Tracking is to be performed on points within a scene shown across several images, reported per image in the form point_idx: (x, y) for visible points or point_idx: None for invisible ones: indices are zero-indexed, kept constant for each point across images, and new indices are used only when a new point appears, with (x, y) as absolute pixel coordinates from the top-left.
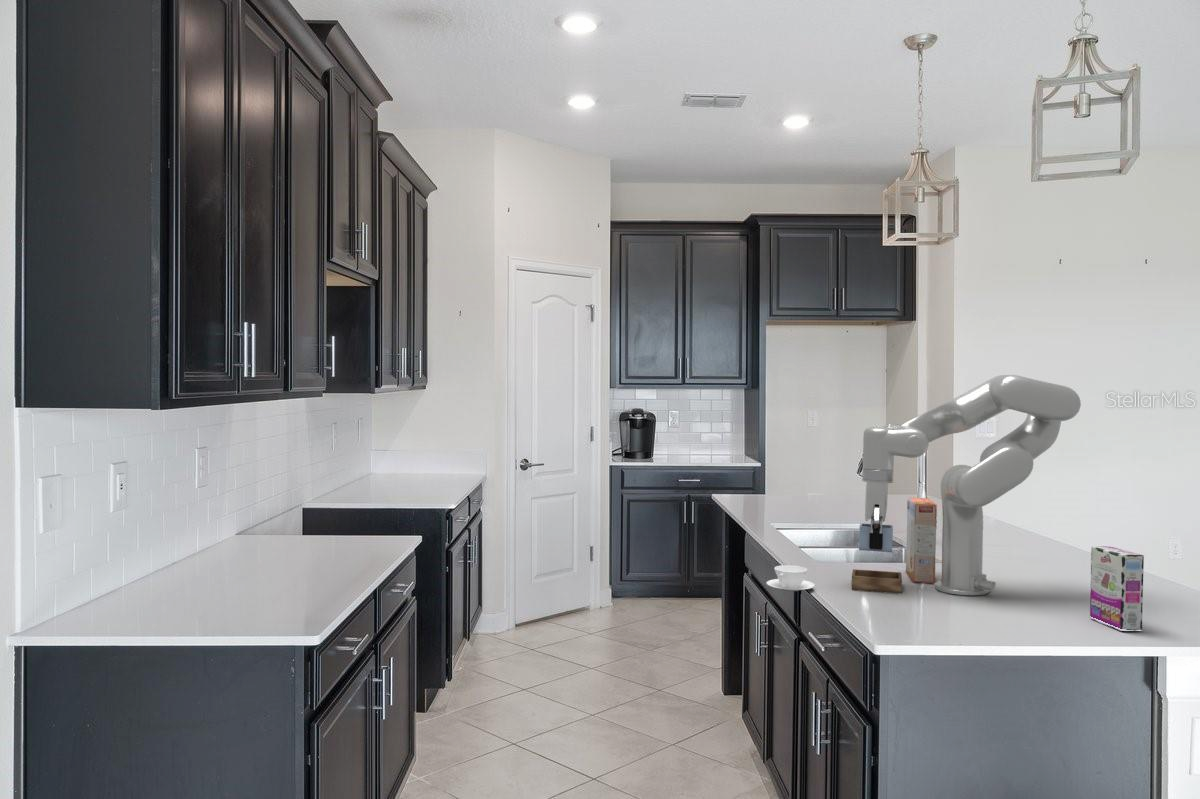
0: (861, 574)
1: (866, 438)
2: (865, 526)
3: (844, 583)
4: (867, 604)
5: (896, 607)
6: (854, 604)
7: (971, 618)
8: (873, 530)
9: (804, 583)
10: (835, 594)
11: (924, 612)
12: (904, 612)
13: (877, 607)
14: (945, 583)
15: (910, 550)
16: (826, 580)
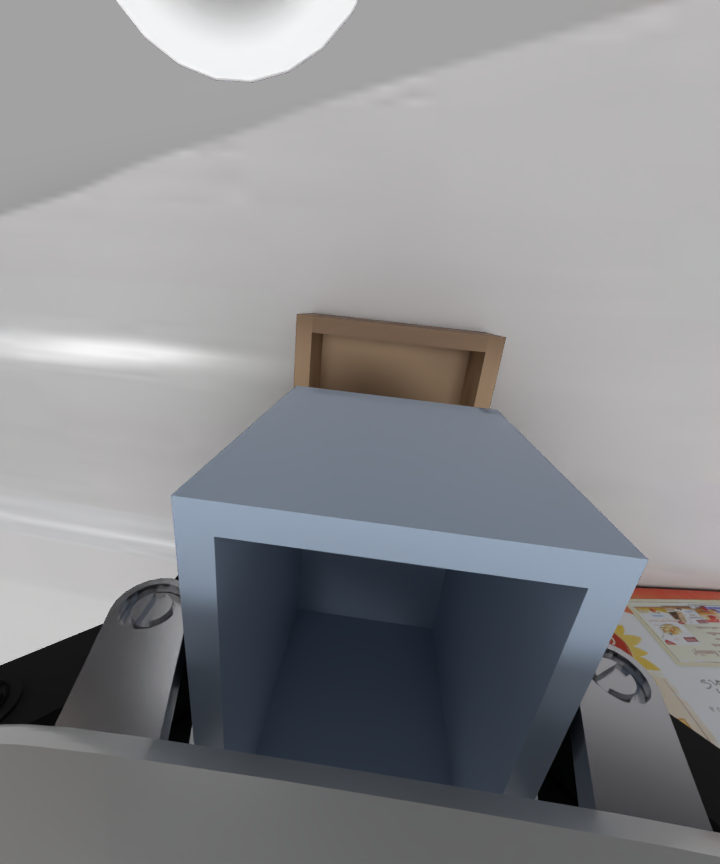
0: (473, 381)
1: None
2: (218, 594)
3: (460, 286)
4: (74, 360)
5: (80, 460)
6: (48, 305)
7: (53, 632)
8: (72, 643)
9: (309, 2)
10: (199, 223)
11: (56, 533)
12: (23, 475)
13: (46, 393)
14: None
15: (673, 706)
16: (527, 181)
